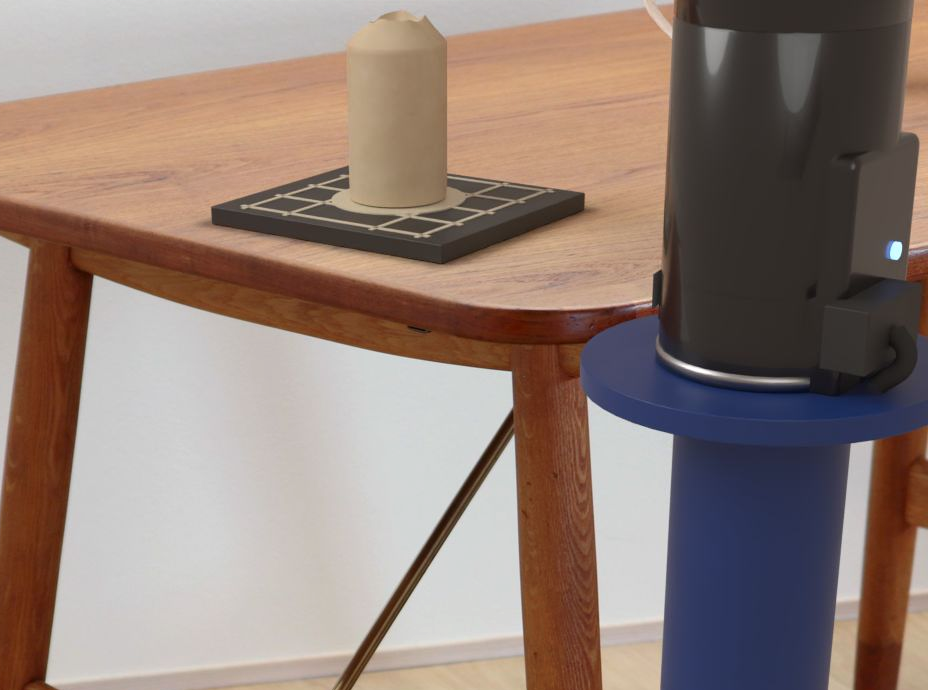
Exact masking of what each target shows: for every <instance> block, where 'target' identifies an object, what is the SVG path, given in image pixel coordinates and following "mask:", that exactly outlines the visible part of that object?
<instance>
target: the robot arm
mask: <svg viewBox="0 0 928 690" xmlns="http://www.w3.org/2000/svg"><path fill="white" fill-rule="evenodd" d="M914 5H915V0H673V17H672V27H673V31H672V39H671V56H670V74H669V75H670V76H669V96H668V97H669V100H668V118H667V119H668V120H667V138H666V160H665V161H666V162H665V180H664V181H665V183H664V201H663V202H664V204H663V223H662V224H663V226H662V242H661V243H662V245H661V265H660V267H661V268H660V269H659V270H658V271H656V272H654V273H653V275H652V293H651V295H652V296H651V310H654V309H655V308H656V307H658V313H657V314H658V319H659V334H658V336H657V338H656V348H655V357H656V360H657V361H658V363H659V364H660V365H661V366H662V367H663V368H665V369H666V370H668V371H669V372H671V373H673V374H675V375H677V376H680V377H682V378H685V379H687V380H691V381H694V382H697V383H701V384H704V385H709V386H714V387H719V388H724V389H731V390H739V391H747V392H763V393H814V394H820V395H825V396H831V397H835V396H840V395H841V394H843V393H844V392H846V391H848V390H849V389H851V388H853V387H854V386H856V385H858V384H859V383H861V382H862V381H864V380H866V379H868V378H870V379H869V380H870V383H871V385H872V386H873V387H874V388H875V389H876V390H877V391H878V392H880V393H885V392H887V391H888V390H890V389H891V388H893V387H895V386H897V385H899V384H900V383H902V382H903V381H905V380H906V379H907V378H908V377H909V376H910V375H911V374H912V372H913V370H914V368H915V366H916V363H917V358H918V351H917V347H916V345H917V337H918V334H919V327H920V317H921V310H922V309H921V308H922V298H923V289H924V284H923V283H922V282H916V281H910V280H907V273H908V264H909V256H910V255H909V253H910V243H911V234H912V225H913V217H914V215H913V214H914V207H915V196H916V195H915V194H916V186H917V176H918V167H919V156H920V143H921V142H920V138H919V136H918V135H917V134H916V133H915V132H911V131H902V129H903V119H904V109H905V99H906V88H907V77H908V68H909V56H910V45H911V35H912V27H913V25H912V24H913V16H914V8H915V7H914Z"/></svg>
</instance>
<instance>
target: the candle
mask: <svg viewBox="0 0 928 690" xmlns="http://www.w3.org/2000/svg"><path fill="white" fill-rule="evenodd" d="M345 45H346V51H345V52H346V88H347V89H346V90H347V91H346V93H347V94H346V95H347V137H348V138H347V141H348V165H349V184H350V195H351V199H352V200H353V201H355V202H357V203H360V204H363V205H369V206H376V207H413V206H422V205H428V204H432V203H436V202H439V201H441V200H443V199H444V198H445V197H446V192H447V173H448V40H447V39H446V38H445V37H444V36H443V35H442V34H441V32H440V31H439V30H438V29H437V27H436V26H434V24H433V23H432V22H431V21H430V19H429V18H428V16H427V15H423V16H421V17H419V18H417V17H415V16H414V15H413V14H412V13H410V12H409V11H407V10H404V9H403V10H402V9H401V10H400V9H399V10H395V11H390V12H387V13H384V14H382V15H380V16H379V17H378V18H377V19H376V20H374V21H369V22H368V23H367V24H366V25H364V26H362V27H361V28H360V29H359V30H357V31H356V32H355V33H354V34H353V35H352V36H351V37H350V38H349V40H347V42H346V43H345Z"/></svg>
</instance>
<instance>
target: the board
mask: <svg viewBox="0 0 928 690" xmlns="http://www.w3.org/2000/svg"><path fill="white" fill-rule="evenodd" d="M585 203H586V193H585V192H584V191H575V190H569V189H568V190H567V189H563V188H561V189H560V188H554V187H547V186H539V185H533V184H526V183H518V182H512V181H504V180H499V179H498V180H497V179H490V178H484V177H476V176H470V175H469V176H468V175H462V174H456V173H448V172H447V192H446V197H445V198H444V199H443V200H441V201H439V202H436V203H432V204H428V205H422V206H413V207H376V206H369V205H363V204H360V203H357V202H355V201H353V200H352V199H351V195H350V184H349V164H348V165H345V166H342V167H339V168H338V167H337V168H335V169H332V170H329V171H325V172H321V173H319V174H316V175H315V174H314V175H312V176H308V177H305V178H302V179H298V180H295V181H292V182H289V183H285V184H282V185H278V186H275V187H271V188H268V189H265V190H262V191H259V192H254V193H251V194H248V195H245V196H241V197H238V198H235V199H232V200H228V201H225V202H222V203H218V204H215V205H211V207H210V213H211V214H210V215H211V224H212V225H218V226H224V227H230V228H234V229H242V230H246V231H252V232H257V233H264V234H268V235H269V234H270V235H275V236H281V237H286V238H293V239H299V240H304V241H310V242H314V243H315V242H316V243H322V244H327V245H333V246H338V247H344V248H349V249H354V250H355V249H356V250H361V251H367V252H372V253H379V254H383V255H390V256H394V257H395V256H396V257H402V258H407V259H411V260H412V259H413V260H418V261H424V262H429V263H435V264H441V265H442V264H444V263H447V262H450V261H452V260H455V259H458V258H461V257H463V256H466V255H468V254H471V253H473V252H476V251H479V250H482V249H484V248H487V247H489V246H492V245H495V244H497V243H500V242H503V241H505V240H509V239H511V238H513V237H516V236H518V235H522V234H524V233H527V232H530V231H533V230H534V229H537V228H540V227H543V226H546V225H548V224H551V223H553V222H556V221H559V220H561V219H564V218H566V217H569V216H571V215H574V214H577V213H580V212H582V211H584V210H585V209H586V208H585V206H586V204H585Z"/></svg>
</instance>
